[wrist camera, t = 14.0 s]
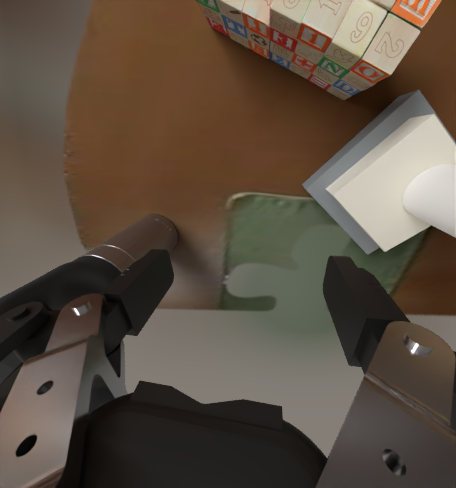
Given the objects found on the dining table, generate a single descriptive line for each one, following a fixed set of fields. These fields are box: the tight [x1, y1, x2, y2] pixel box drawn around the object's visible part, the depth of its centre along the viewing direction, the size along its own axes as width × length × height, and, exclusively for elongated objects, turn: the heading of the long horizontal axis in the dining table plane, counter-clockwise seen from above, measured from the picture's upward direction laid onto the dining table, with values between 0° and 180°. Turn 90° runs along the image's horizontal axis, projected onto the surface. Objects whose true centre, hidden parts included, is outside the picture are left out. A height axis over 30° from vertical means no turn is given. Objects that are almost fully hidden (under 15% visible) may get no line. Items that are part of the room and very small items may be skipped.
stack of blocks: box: [196, 0, 442, 100], centre depth 20 cm, size 21×6×12 cm, turn 66°
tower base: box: [302, 90, 456, 255], centre depth 28 cm, size 16×16×8 cm
